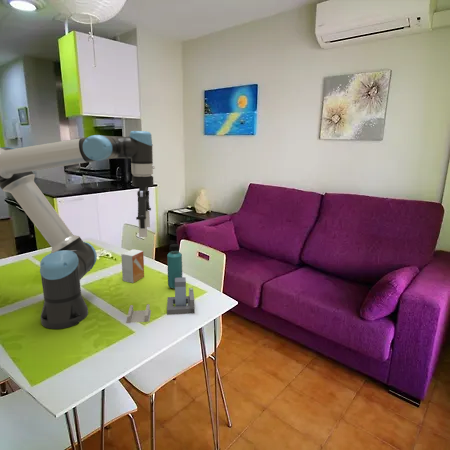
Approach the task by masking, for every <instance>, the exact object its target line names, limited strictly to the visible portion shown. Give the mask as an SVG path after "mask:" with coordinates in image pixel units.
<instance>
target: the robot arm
mask: <svg viewBox="0 0 450 450" xmlns="http://www.w3.org/2000/svg"><path fill="white" fill-rule="evenodd" d="M153 146H154V145H153V139H152V133H151V132H150V131H147V130H146V131H144V130H131V131H130V132H129V136H117V135H116V136H114V135H113V136H112V135H102V134H101V135H100V134H94V135H90V136H88V137H82V138H75V139H68V140H63V141H62V140H61V141H56V142H49V143H42V144H37V145H30V146H23V147H19V148H16V147H15V148H14V147H7V146H4V147H0V189H1V190H2V191H3V192H6V193H10V194H11V196H12V197H13V199H15V201H16V202H17V203H18V205H19V206H20V207H21V208H22V210H23V211H24V213H25V214H26V215H27V216H28V218H29V219H30V221H31V222H32V224H34V225H35V227H36V228H37V230H38V231H39V233H40V234H41V235H42V237H43V238H44V239H45V241H46V242H47V243H48V244H49V246H50V247H51V252H50V253H48V254H45V256H44V257H42V259H41V260H40V264H39V266H40V269H39V273H40V276H41V277H40V279H41V284H42V292H43V293H42V294H43V298H44V299H43V300H44V302H43V306H42V310H41V315H40V323H41V325H42V326H43V327H45V328H47V329H51V330H61V329H66V328H70V327H71V328H72V327H73V326H76V325H78V324H79V323H80V322H82V321H83V320H85V319H86V318H87V317H88V315H89V309H88V305H87V303H86V301H85V299H84V297H83V295H82V290H81V287H82V286H81V279H82V278H84V277H85V275H87V273H88V272H90V271H91V270H92V269H93V267H94V265H95V264H96V262H97V257H98V255H97V254H98V253H97V252H96V248H95V247H94V246H93V245H92V244H91V243H89V242H86V241H84V240H83V239H82V238H81V236H79V235H75V234H73V233H72V232H71V230H70V229H69V227H68V226H67V224H66V223H65V221H64V220H63V219H62V218H61V216H60V215H59V214H58V212H57V210H55V209H54V207H53V205H52V204H51V203H50V202H49V200H48V198H47V197H46V195H44V193H43V192H42V190H41V189H40V188H39V187H38V185H37V184H36V182H35V177H36V175H35V173H34V172H35V171H41V170H48V169H55V168H60V167H65V166H66V167H67V166H72V165H73V166H74V165H78V164H84V163H92V162H101V161H105V160H111V159H130V161H131V162H130V165H131V166H130V167H131V170H130V171H131V174H132V176H131V181H132V182H131V184H132V186H133V187H135V188H138V190H137V192H136V194H137V216H136V217H135V218H136V220H138V236H139V238H146V237H148V228H151V220H150V211H152V207H151V206H150V190H149V188H151V187H153V186H154V176H153V174H154V169H156V168H155V166H154V165H153V164H154V163H153V161H154V160H153V156H154V155H153Z"/></svg>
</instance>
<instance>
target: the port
mask: <svg viewBox="0 0 450 450" xmlns="http://www.w3.org/2000/svg"><path fill="white" fill-rule="evenodd" d="M166 299H167V305H166V315H168V316H169V315H185V314H187V315H188V314H189V315H190V314H195V292H194V288H193V287H188V296H187V295H186V304H187V305H186V306H176V307H175V306H174V305H175V296H167V298H166Z"/></svg>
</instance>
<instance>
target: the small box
mask: <svg viewBox="0 0 450 450" xmlns="http://www.w3.org/2000/svg"><path fill="white" fill-rule="evenodd" d="M144 256H145V255H144V251H143V250H139V249H135V248H131V249H130V250H128V251H125V252H123V253H121V256H120V257H121V272H122V281H123V282H127V283H132V284H134V283H136V282H138V281H139V280H141V279H143V278H145V265H144V263H145V259H144V258H145V257H144Z"/></svg>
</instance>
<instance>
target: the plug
mask: <svg viewBox="0 0 450 450" xmlns="http://www.w3.org/2000/svg"><path fill="white" fill-rule="evenodd" d="M186 278H187V277H183V276H182V278H175V288H174V297H175V304H174V307H176V306H187V303H186V296H187V279H186Z"/></svg>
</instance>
